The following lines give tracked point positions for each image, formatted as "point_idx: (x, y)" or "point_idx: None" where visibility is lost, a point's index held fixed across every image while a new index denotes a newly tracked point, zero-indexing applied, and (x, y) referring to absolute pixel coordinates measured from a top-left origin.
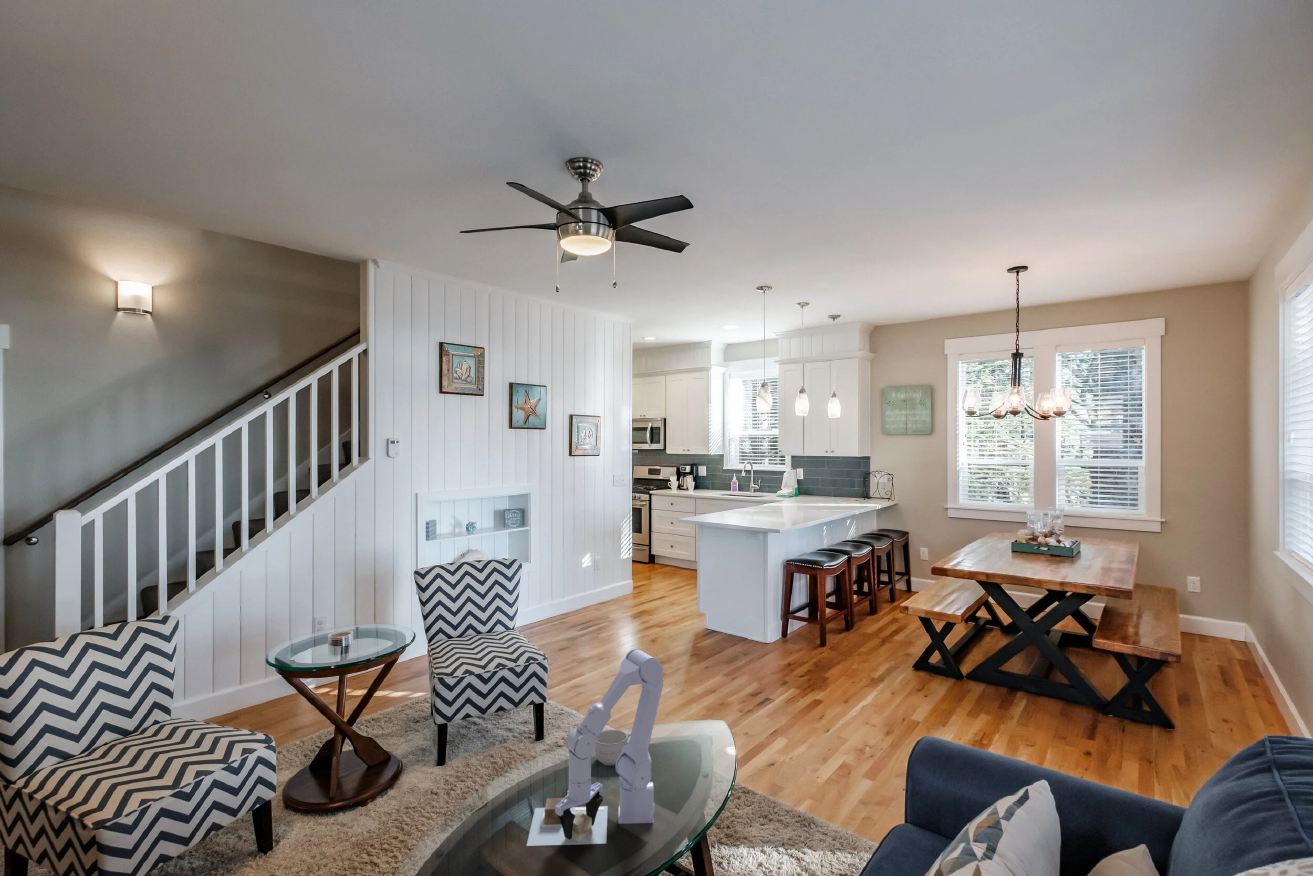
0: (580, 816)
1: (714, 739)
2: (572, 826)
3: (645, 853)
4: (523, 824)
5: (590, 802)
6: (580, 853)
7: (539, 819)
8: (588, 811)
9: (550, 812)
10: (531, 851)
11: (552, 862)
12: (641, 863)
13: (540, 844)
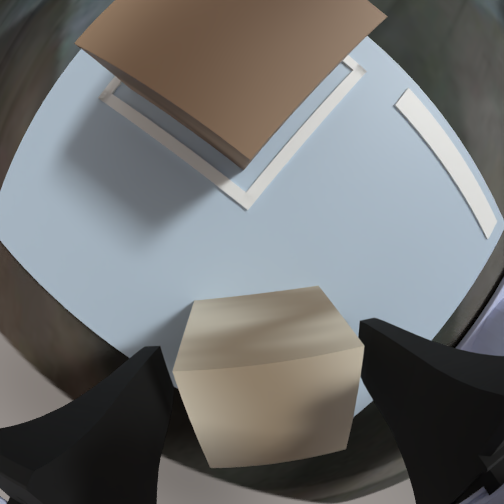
0: (305, 408)
1: None
2: (155, 469)
3: (359, 482)
4: (77, 23)
5: (442, 456)
6: (189, 423)
7: None
8: (403, 379)
9: (126, 78)
10: (6, 260)
11: (64, 383)
12: (319, 499)
13: (30, 266)
